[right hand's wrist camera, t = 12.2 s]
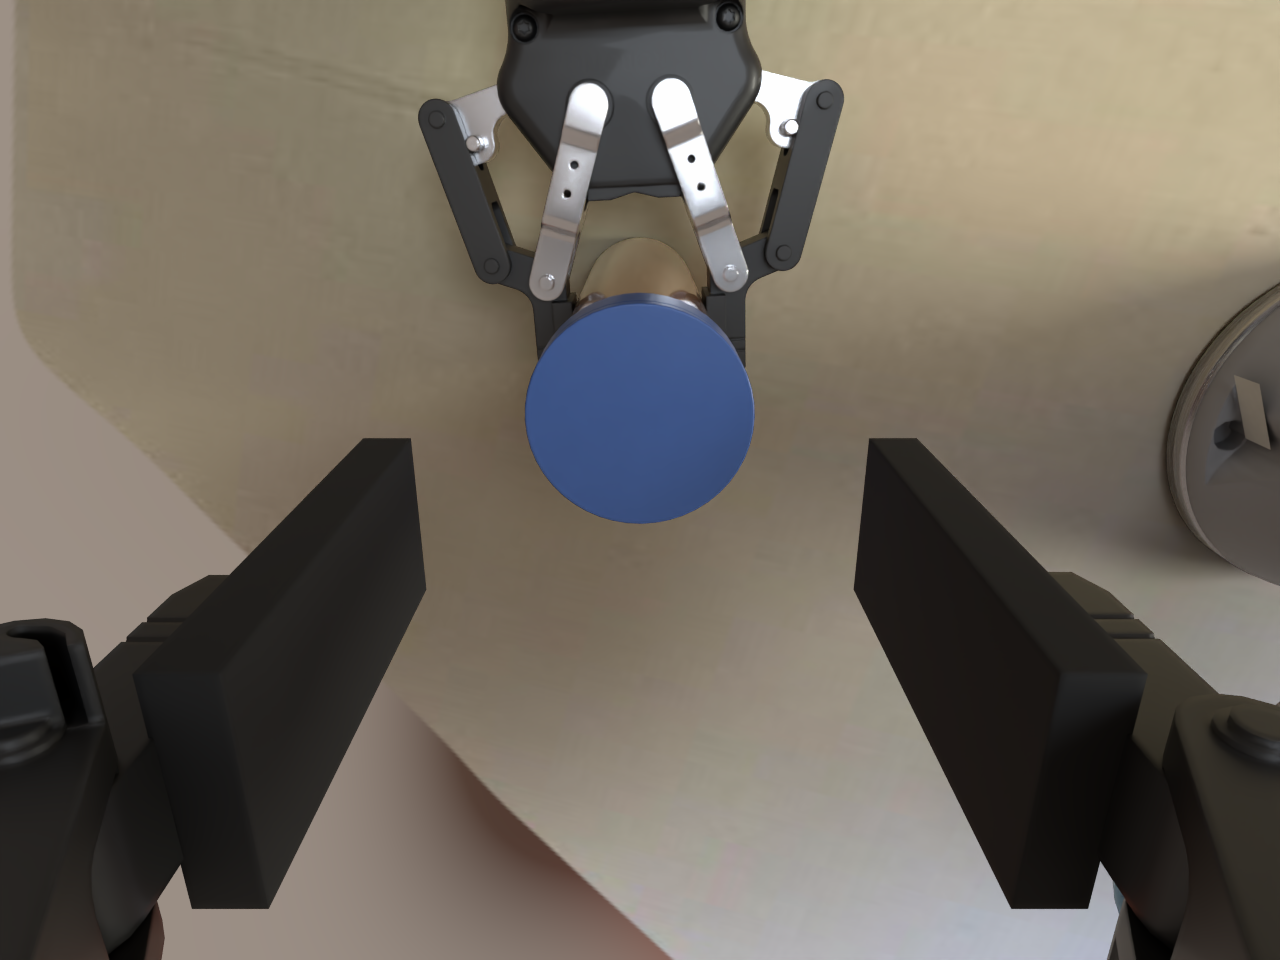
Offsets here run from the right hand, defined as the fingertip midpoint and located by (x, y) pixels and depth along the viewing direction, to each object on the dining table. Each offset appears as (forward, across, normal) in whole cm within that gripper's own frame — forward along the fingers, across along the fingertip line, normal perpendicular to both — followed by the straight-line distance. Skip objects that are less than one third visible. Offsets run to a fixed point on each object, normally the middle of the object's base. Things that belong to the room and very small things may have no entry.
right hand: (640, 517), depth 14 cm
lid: (+6, 0, 0) cm, 6 cm away
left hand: (+18, 0, -3) cm, 18 cm away
